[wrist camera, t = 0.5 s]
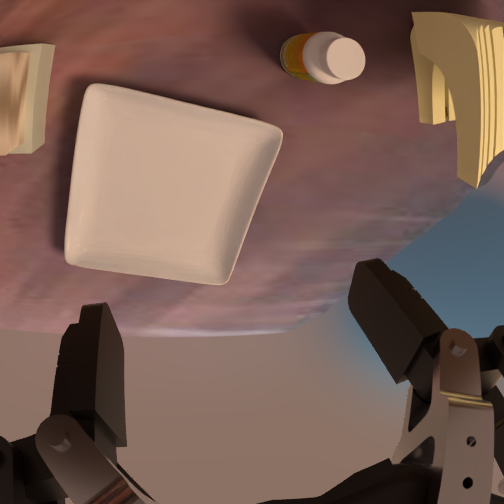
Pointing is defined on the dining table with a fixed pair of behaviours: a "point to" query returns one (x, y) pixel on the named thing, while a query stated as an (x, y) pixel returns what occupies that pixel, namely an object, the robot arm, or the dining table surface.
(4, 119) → the top block
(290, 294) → the dining table surface
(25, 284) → the dining table surface
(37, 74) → the base block
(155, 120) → the salad plate
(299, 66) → the supplement bottle
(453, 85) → the slatted curved stool
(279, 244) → the dining table surface
